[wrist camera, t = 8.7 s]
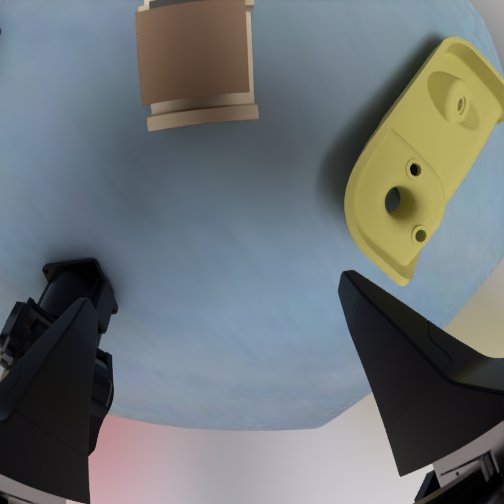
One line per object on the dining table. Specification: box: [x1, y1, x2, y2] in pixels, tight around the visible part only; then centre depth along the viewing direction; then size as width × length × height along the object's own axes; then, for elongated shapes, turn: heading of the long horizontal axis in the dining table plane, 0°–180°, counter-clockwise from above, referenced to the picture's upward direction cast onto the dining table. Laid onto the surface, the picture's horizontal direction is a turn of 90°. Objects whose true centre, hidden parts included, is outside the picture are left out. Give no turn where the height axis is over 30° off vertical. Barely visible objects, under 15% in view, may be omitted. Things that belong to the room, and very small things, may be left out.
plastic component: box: [344, 37, 504, 286], centre depth 18 cm, size 20×7×10 cm
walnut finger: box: [136, 0, 250, 106], centre depth 10 cm, size 4×5×6 cm
